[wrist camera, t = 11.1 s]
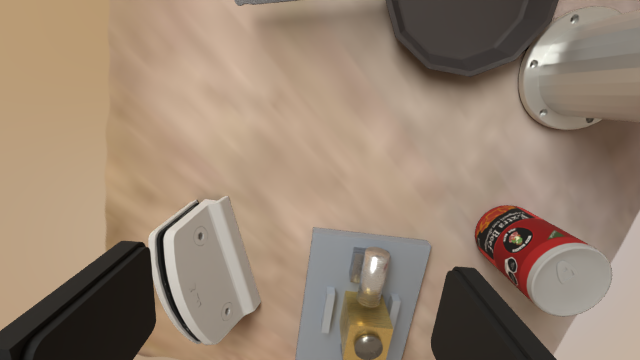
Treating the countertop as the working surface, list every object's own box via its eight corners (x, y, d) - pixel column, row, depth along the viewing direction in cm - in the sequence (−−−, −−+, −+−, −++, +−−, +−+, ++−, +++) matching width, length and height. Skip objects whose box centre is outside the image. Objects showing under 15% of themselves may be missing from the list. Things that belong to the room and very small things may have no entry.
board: (313, 227, 38) (313, 238, 35) (426, 240, 39) (435, 252, 36) (295, 356, 44) (294, 374, 41) (394, 365, 45) (400, 384, 42)
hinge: (261, 304, 41) (216, 368, 32) (234, 302, 43) (183, 362, 34) (227, 193, 37) (163, 232, 28) (198, 195, 38) (129, 233, 30)
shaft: (353, 232, 38) (360, 257, 33) (387, 236, 39) (399, 261, 33) (346, 275, 40) (351, 305, 34) (378, 278, 40) (388, 309, 35)
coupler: (375, 325, 41) (386, 368, 34) (339, 321, 40) (343, 364, 34) (382, 294, 39) (394, 333, 33) (345, 290, 39) (350, 328, 33)
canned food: (504, 191, 37) (579, 230, 26) (545, 228, 39) (631, 279, 28) (459, 234, 39) (513, 287, 28) (500, 268, 40) (565, 330, 30)
